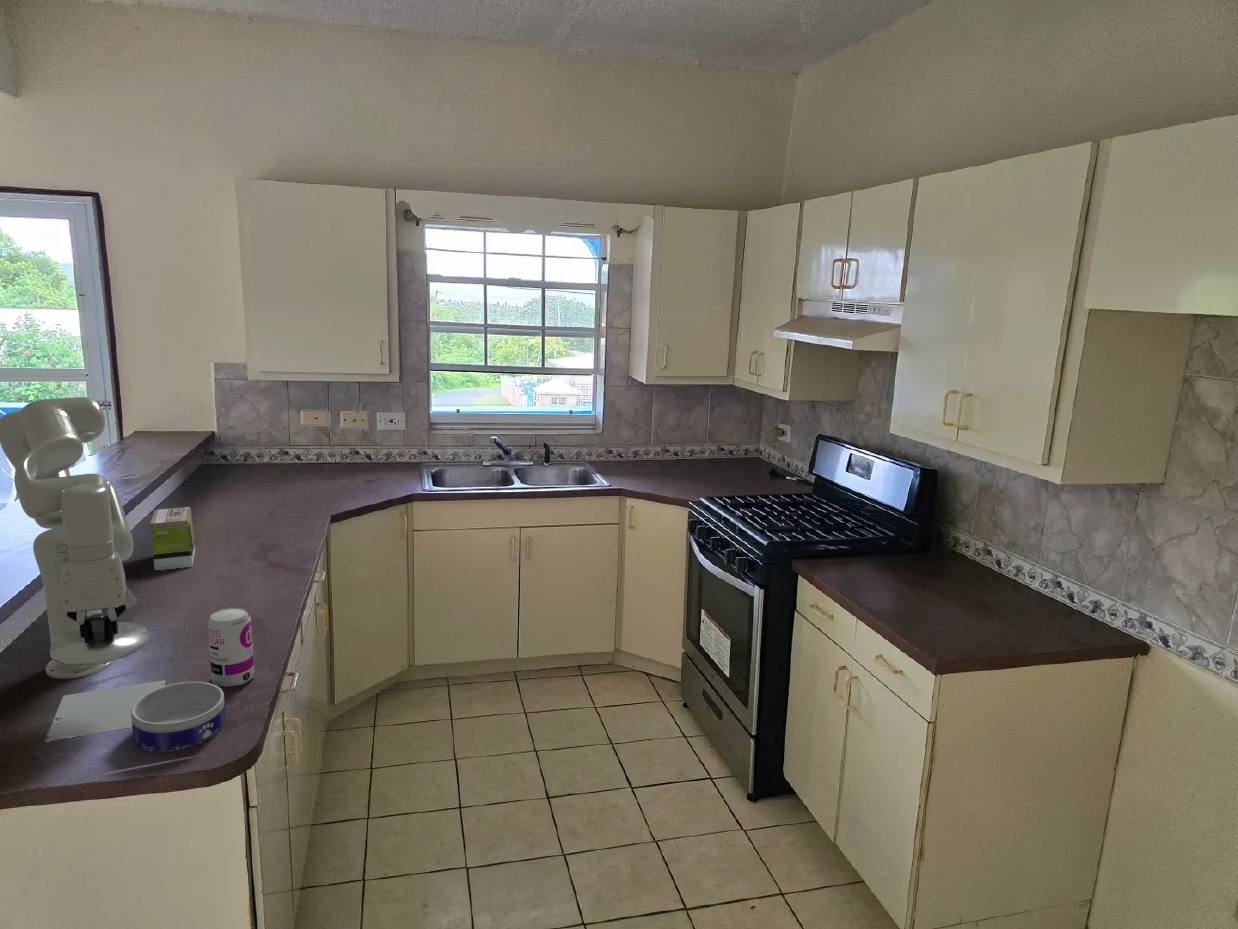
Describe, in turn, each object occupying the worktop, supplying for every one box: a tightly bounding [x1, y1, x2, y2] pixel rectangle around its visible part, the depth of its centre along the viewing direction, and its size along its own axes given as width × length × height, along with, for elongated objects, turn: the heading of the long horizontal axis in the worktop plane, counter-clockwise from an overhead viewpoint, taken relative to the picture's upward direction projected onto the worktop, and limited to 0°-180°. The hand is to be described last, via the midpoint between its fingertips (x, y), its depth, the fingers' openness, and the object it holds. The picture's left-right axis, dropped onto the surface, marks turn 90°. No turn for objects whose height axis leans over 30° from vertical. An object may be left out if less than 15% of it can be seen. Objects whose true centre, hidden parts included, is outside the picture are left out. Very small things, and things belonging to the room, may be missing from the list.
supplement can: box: [206, 607, 255, 687], centre depth 168 cm, size 8×8×15 cm
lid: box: [49, 612, 150, 666], centre depth 153 cm, size 16×16×6 cm
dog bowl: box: [131, 680, 226, 751], centre depth 149 cm, size 15×15×6 cm
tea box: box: [149, 506, 196, 571], centre depth 235 cm, size 15×10×15 cm
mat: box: [44, 679, 166, 743], centre depth 156 cm, size 18×18×1 cm
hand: (100, 638), depth 153 cm, fingers closed on lid, 3 cm apart
